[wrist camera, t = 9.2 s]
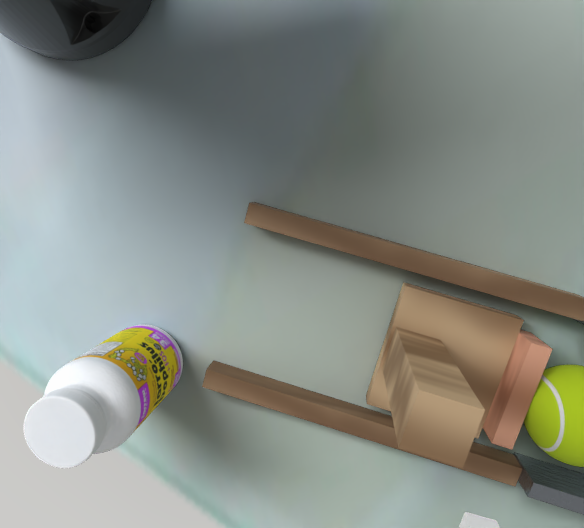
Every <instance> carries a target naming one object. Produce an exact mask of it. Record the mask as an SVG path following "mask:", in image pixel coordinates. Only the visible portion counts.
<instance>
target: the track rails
mask: <svg viewBox="0 0 584 528" xmlns="http://www.w3.org/2000/svg"><path fill="white" fill-rule="evenodd" d="M244 223H246V224H249V225H253V226H256V227H260V228H263V229H267V230H270V231H273V232H277V233H280V234H284V235H287V236H291V237H294V238H298V239H301V240H305V241H308V242H311V243H315V244H318V245H322V246H325V247H329V248H332V249H336V250H339V251H342V252H346V253H349V254H353V255H356V256H360V257H363V258H367V259H370V260H373V261H377V262H380V263H384V264H387V265H391V266H394V267H398V268H401V269H404V270H408V271H411V272H415V273H418V274H422V275H425V276H429V277H432V278H435V279H439V280H442V281H446V282H449V283H453V284H456V285H460V286H463V287H466V288H470V289H473V290H477V291H480V292H484V293H487V294H491V295H494V296H497V297H501V298H504V299H508V300H511V301H515V302H518V303H522V304H525V305H528V306H532V307H535V308H539V309H542V310H546V311H549V312H553V313H556V314H559V315H563V316H566V317H570V318H573V319H577V320H580V321H584V297H582V296H579V295H577V294H573V293H570V292H566V291H563V290H559V289H556V288H552V287H549V286H545V285H542V284H538V283H535V282H531V281H528V280H524V279H521V278H518V277H514V276H511V275H507V274H504V273H500V272H497V271H493V270H490V269H486V268H483V267H479V266H476V265H472V264H469V263H465V262H462V261H458V260H455V259H451V258H448V257H444V256H441V255H437V254H434V253H430V252H427V251H423V250H420V249H416V248H413V247H409V246H406V245H402V244H399V243H395V242H392V241H388V240H385V239H381V238H378V237H374V236H371V235H367V234H364V233H360V232H357V231H353V230H350V229H346V228H343V227H339V226H336V225H332V224H329V223H325V222H322V221H319V220H315V219H312V218H308V217H305V216H301V215H298V214H294V213H291V212H287V211H284V210H280V209H277V208H273V207H270V206H266V205H263V204H259V203H256V202H252V203H249V206H248V210H247V214H246V218H245V222H244ZM202 387H204V388H207V389H210V390H213V391H216V392H220V393H223V394H226V395H229V396H232V397H235V398H238V399H242V400H245V401H248V402H251V403H254V404H257V405H260V406H264V407H267V408H270V409H273V410H276V411H279V412H282V413H286V414H289V415H292V416H295V417H298V418H301V419H304V420H308V421H311V422H314V423H317V424H320V425H323V426H326V427H330V428H333V429H336V430H339V431H342V432H345V433H348V434H352V435H355V436H358V437H361V438H364V439H367V440H370V441H374V442H377V443H380V444H383V445H386V446H389V447H392V448H396V449H399V448H398V443H397V438H396V433H395V428H394V423H393V418H392V416H389V415H386V414H383V413H380V412H376V411H373V410H370V409H367V408H364V407H360V406H357V405H354V404H351V403H348V402H344V401H341V400H338V399H335V398H332V397H328V396H325V395H322V394H319V393H316V392H313V391H309V390H306V389H303V388H300V387H297V386H293V385H290V384H287V383H284V382H281V381H277V380H274V379H271V378H268V377H265V376H261V375H258V374H255V373H252V372H249V371H246V370H242V369H239V368H236V367H233V366H230V365H226V364H223V363H220V362H217V361H213V362H212V363H211V364H210V366H209V367H208V368H207V370H206V374H205V378H204V382H203V386H202ZM399 450H402V451H405V452H408V453H411V454H414V455H418V454H415V453H412V452H409V451H406V450H403V449H399ZM418 456H421V455H418ZM421 457H424V458H427V459H430V460H433V461H436V462H440V461H437V460H434V459H431V458H428V457H425V456H421ZM440 463H443V462H440ZM443 464H446V465H449V466H452V467H455V468H458V469H462V468H459V467H456V466H453V465H450V464H447V463H443ZM462 470H465V471H468V472H471V473H474V474H477V475H480V476H484V477H487V478H490V479H493V480H496V481H499V482H502V483H506V484H509V485H512V486H516V484H517V481H518V479H519V476H520V474H521V471H522V467H521V466H520V464H519V463H518V461H517V459H516V458H515V456H514V455H513V454H510V453H507V452H504V451H501V450H498V449H494V448H491V447H488V446H485V445H482V444H478V443H475V442H473V443H472V445H471V448H470V451H469V453H468V456H467V458H466V461H465V464H464V466H463V469H462Z"/></svg>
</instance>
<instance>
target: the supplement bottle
mask: <svg viewBox="0 0 584 528" xmlns="http://www.w3.org/2000/svg"><path fill="white" fill-rule="evenodd" d="M182 370H183V358H182V354H181V351H180V348H179V346H178V344H177V343H176V341H175V340H174V339H173V338H172V336H171V335H169V334H168V333H167V332H166V331H164V330H162V329H161V328H158V327H156V326H153V325H146V324H140V325H135V326H131V327H129V328H126V329H124V330H122V331H120V332H119V333H117V334H115V335H114V336H112V337H110V338H109V339H107V340H105V341H104V342H102V343H101V344H99V345H97V346H96V347H94V348H92V349H91V350H89V351H87V352H86V353H84V354H82V355H81V356H79V357H77V358H76V359H74V360H72V361H71V362H69V363H68V364H66V365H64V366H63V367H62V368H60V369H59V370H58V371H57V372H56V373H55V374H54V375H53V376H52V378H51V379H50V381H49V383H48V385H47V387H46V389H45V393H44V396H43V397H42V398H41V399H39V400H38V401H37V402H35V403H34V404H33V405H32V406H31V407H30V409H29V410H28V412H27V414H26V416H25V420H24V436H25V439H26V442H27V444H28V446H29V448H30V449H31V451H32V452H33V453H34V455H35V456H36V457H37V458H39V459H40V460H41V461H43V462H44V463H46V464H48V465H50V466H53V467H57V468H71V467H75V466H78V465H80V464H82V463H83V462H85V461H86V460H87V459H88V458H89V457H90V456H91V455H92V454H98V453H103V452H107V451H110V450H112V449H114V448H116V447H118V446H120V445H121V444H122V443H124V442H125V441H126V440H127V439H128V438H129V437H130V436H131V435H132V433H133V432H134V431H135V430H136V429H137V428H138V427H139V426H140V424H141V423H142V422H143V421H144V420H145V419H146V418H147V417H148V416H149V414H150V413H151V412H152V411H153V410H154V409H155V408H156V407H157V406H158V405H159V403H160V402H161V401H162V400H163V399H164V398H165V397H166V396H167V395H168V394H169V393H170V391H171V390H172V389H173V388H174V387H175V386H176V384H177V383H178V381H179V379H180V377H181V374H182Z"/></svg>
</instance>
